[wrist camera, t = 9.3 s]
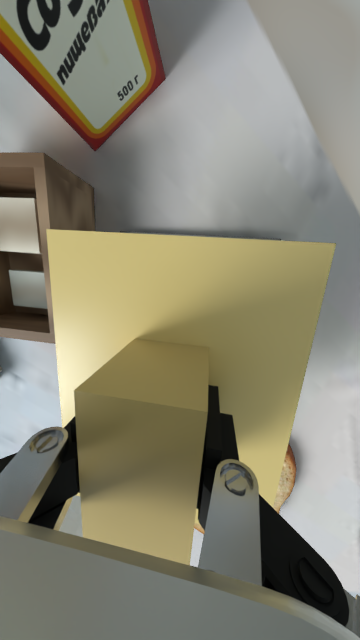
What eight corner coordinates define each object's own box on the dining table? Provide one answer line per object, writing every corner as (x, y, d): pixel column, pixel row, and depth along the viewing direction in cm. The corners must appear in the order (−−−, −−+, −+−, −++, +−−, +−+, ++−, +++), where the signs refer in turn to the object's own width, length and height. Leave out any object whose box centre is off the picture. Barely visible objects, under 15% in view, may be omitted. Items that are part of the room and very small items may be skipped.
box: (-1, 186, 24) (-84, 152, 17) (93, 188, 22) (43, 152, 16) (17, 316, 28) (-44, 331, 21) (98, 325, 26) (60, 344, 20)
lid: (82, 239, 13) (-103, 189, 5) (304, 251, 11) (503, 203, 4) (91, 456, 17) (-5, 605, 9) (255, 490, 15) (299, 704, 8)
